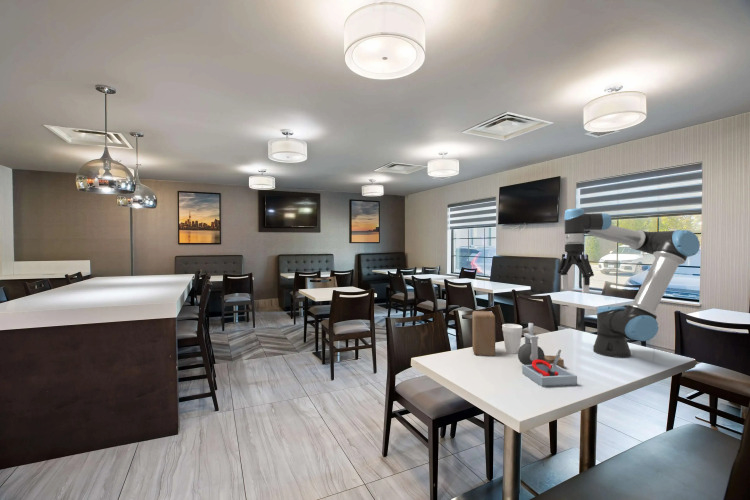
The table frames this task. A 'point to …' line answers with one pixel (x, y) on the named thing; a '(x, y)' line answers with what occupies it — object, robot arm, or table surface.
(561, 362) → the block
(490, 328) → the wooden block
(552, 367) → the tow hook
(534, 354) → the trolley wheel
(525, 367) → the tray
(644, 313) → the robot arm
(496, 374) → the table surface
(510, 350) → the foam cup
